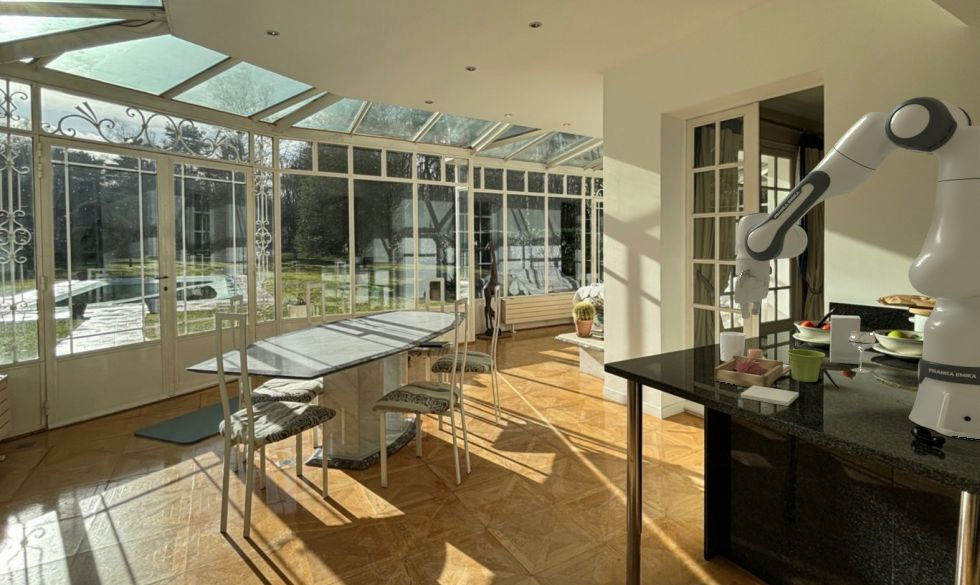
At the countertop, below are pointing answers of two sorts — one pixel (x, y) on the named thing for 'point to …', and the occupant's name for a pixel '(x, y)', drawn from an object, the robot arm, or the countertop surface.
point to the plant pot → (805, 364)
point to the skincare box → (843, 339)
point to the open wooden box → (770, 369)
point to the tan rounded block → (755, 353)
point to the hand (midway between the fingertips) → (750, 316)
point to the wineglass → (861, 344)
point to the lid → (786, 367)
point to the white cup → (731, 345)
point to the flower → (749, 367)
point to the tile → (770, 395)
